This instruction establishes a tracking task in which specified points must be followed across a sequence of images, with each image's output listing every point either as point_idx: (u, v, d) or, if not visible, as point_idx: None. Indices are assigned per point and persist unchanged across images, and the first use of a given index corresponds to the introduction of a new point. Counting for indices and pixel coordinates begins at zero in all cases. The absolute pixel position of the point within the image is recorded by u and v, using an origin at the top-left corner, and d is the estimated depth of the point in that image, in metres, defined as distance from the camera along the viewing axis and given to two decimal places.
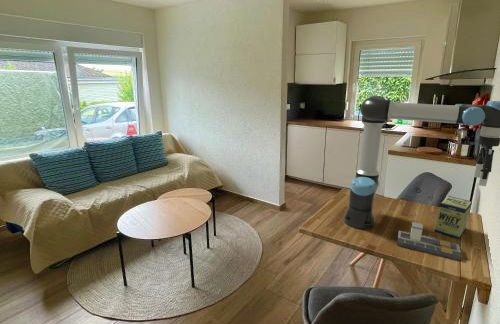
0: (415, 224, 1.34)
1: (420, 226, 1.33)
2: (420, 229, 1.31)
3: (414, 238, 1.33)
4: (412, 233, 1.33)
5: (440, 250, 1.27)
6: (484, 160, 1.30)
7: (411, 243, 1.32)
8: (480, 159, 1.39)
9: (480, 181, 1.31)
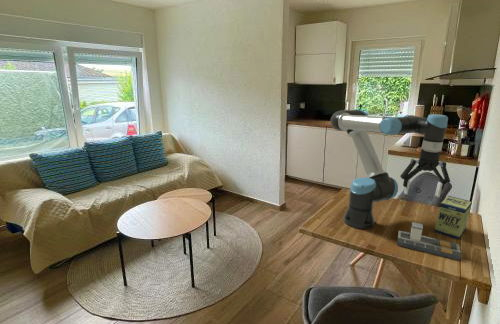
0: (415, 224, 1.34)
1: (420, 226, 1.33)
2: (420, 229, 1.31)
3: (414, 238, 1.33)
4: (412, 233, 1.33)
5: (440, 250, 1.27)
6: (413, 170, 1.34)
7: (411, 243, 1.32)
8: (437, 176, 1.33)
9: None
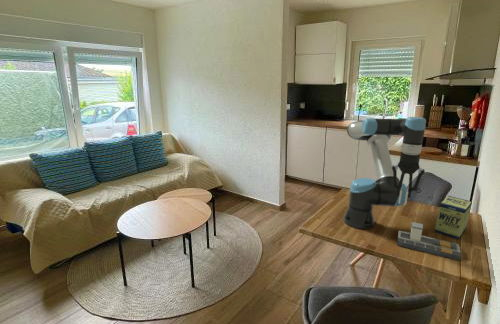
0: (415, 224, 1.34)
1: (420, 226, 1.33)
2: (420, 229, 1.31)
3: (414, 238, 1.33)
4: (412, 233, 1.33)
5: (440, 250, 1.27)
6: (400, 177, 1.33)
7: (411, 243, 1.32)
8: None
9: None
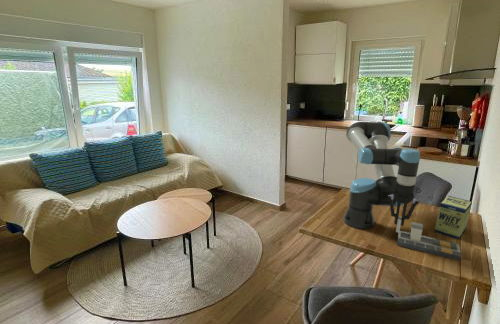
0: (415, 224, 1.34)
1: (420, 226, 1.33)
2: (420, 229, 1.31)
3: (414, 238, 1.33)
4: (412, 233, 1.33)
5: (440, 250, 1.27)
6: None
7: (411, 243, 1.32)
8: None
9: None
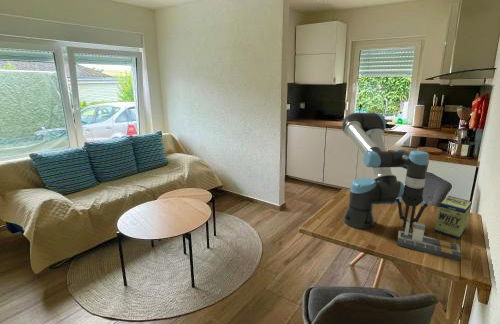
0: (417, 224, 1.34)
1: (422, 226, 1.32)
2: (422, 229, 1.31)
3: (416, 238, 1.33)
4: (414, 233, 1.33)
5: (440, 250, 1.27)
6: None
7: (411, 243, 1.32)
8: (411, 213, 1.34)
9: None
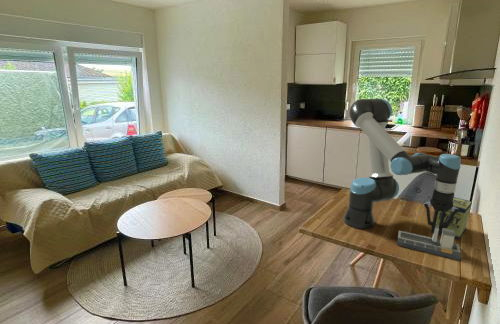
0: (446, 231, 1.29)
1: (452, 233, 1.27)
2: (452, 236, 1.26)
3: (445, 245, 1.28)
4: (443, 240, 1.28)
5: (440, 250, 1.27)
6: (434, 214, 1.30)
7: (411, 243, 1.32)
8: (440, 218, 1.29)
9: None
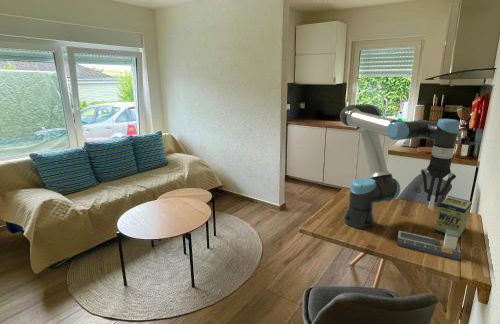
0: (450, 231, 1.28)
1: (455, 233, 1.27)
2: (456, 237, 1.25)
3: (449, 246, 1.27)
4: (447, 241, 1.27)
5: (440, 250, 1.27)
6: None
7: (411, 243, 1.32)
8: None
9: (429, 203, 1.30)
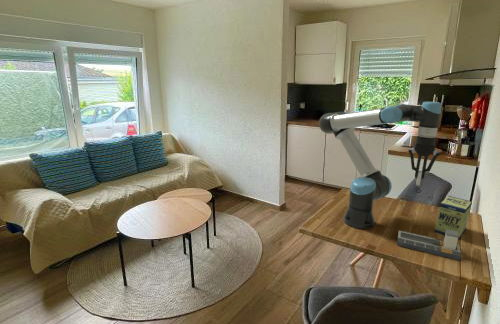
0: (450, 231, 1.28)
1: (455, 233, 1.27)
2: (456, 237, 1.25)
3: (449, 246, 1.27)
4: (447, 241, 1.27)
5: (440, 250, 1.27)
6: None
7: (411, 243, 1.32)
8: (423, 163, 1.39)
9: None
